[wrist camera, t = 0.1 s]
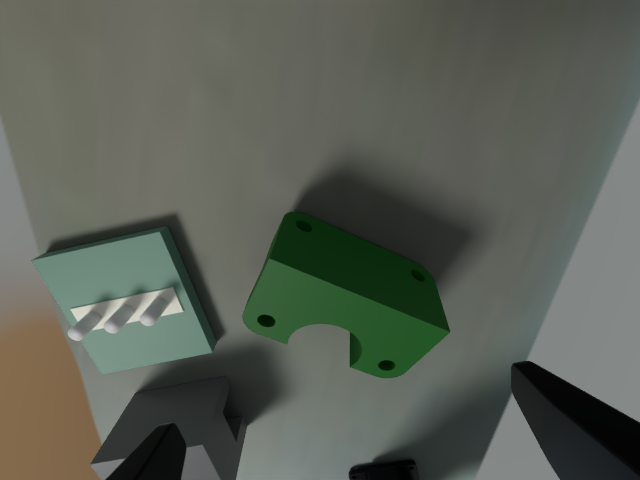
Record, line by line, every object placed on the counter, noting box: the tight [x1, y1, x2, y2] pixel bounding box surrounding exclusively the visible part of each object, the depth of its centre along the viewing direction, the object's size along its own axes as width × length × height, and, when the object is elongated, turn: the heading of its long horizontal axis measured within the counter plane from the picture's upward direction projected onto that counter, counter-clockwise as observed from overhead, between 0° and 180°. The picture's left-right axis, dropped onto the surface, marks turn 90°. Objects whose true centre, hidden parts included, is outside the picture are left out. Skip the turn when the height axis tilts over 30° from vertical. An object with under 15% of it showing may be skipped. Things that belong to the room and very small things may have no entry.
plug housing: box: [90, 376, 247, 480], centre depth 26 cm, size 6×8×6 cm
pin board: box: [31, 226, 217, 374], centre depth 23 cm, size 10×9×3 cm
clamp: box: [242, 212, 450, 378], centre depth 21 cm, size 12×6×9 cm, turn 59°
